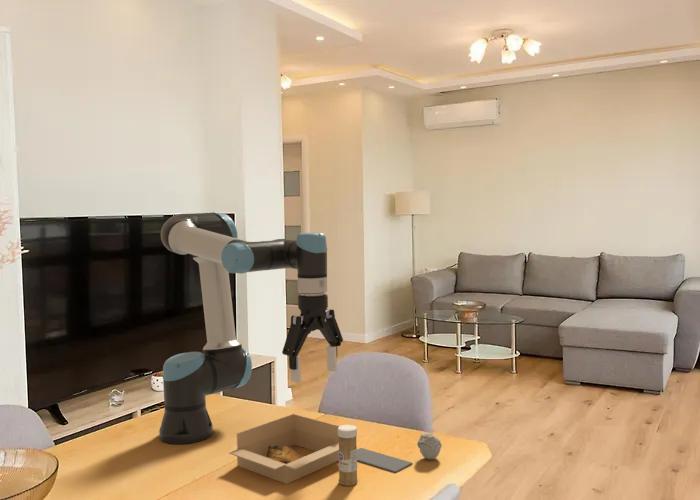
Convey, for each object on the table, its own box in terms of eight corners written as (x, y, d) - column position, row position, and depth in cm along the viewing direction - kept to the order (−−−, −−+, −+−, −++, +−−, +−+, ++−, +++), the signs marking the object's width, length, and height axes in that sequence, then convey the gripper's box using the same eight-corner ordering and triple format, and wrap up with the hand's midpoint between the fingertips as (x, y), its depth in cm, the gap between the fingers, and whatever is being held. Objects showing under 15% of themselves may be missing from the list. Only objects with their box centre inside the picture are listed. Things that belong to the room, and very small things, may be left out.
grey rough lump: (412, 460, 172) (412, 434, 171) (426, 452, 177) (426, 426, 177) (433, 466, 168) (432, 438, 168) (446, 457, 174) (446, 430, 173)
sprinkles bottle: (334, 483, 159) (333, 427, 158) (347, 477, 162) (346, 422, 161) (349, 488, 156) (348, 431, 155) (362, 481, 159) (360, 426, 158)
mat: (343, 456, 175) (343, 455, 175) (361, 449, 181) (361, 447, 181) (395, 472, 164) (395, 471, 164) (412, 464, 169) (412, 462, 169)
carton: (228, 469, 169) (227, 436, 168) (294, 443, 186) (293, 413, 186) (286, 491, 155) (285, 455, 154) (351, 461, 172) (351, 428, 172)
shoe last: (310, 470, 168) (309, 451, 168) (264, 461, 174) (264, 443, 174) (318, 464, 172) (318, 446, 172) (273, 455, 178) (273, 438, 178)
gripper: (288, 301, 158) (290, 389, 159) (355, 289, 177) (356, 368, 179) (266, 298, 163) (268, 384, 164) (333, 287, 182) (335, 364, 183)
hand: (314, 376), depth 171 cm, fingers open, 13 cm apart
